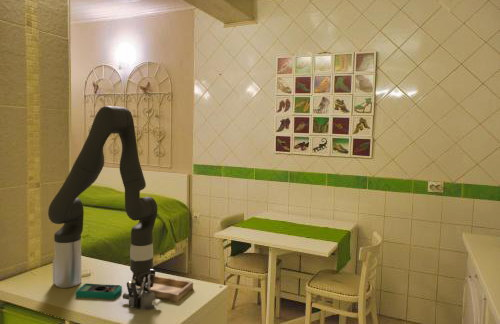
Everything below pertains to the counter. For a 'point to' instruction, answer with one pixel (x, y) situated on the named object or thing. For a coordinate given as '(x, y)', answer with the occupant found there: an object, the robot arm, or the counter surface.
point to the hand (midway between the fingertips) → (141, 304)
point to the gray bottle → (144, 300)
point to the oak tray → (170, 288)
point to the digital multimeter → (99, 291)
